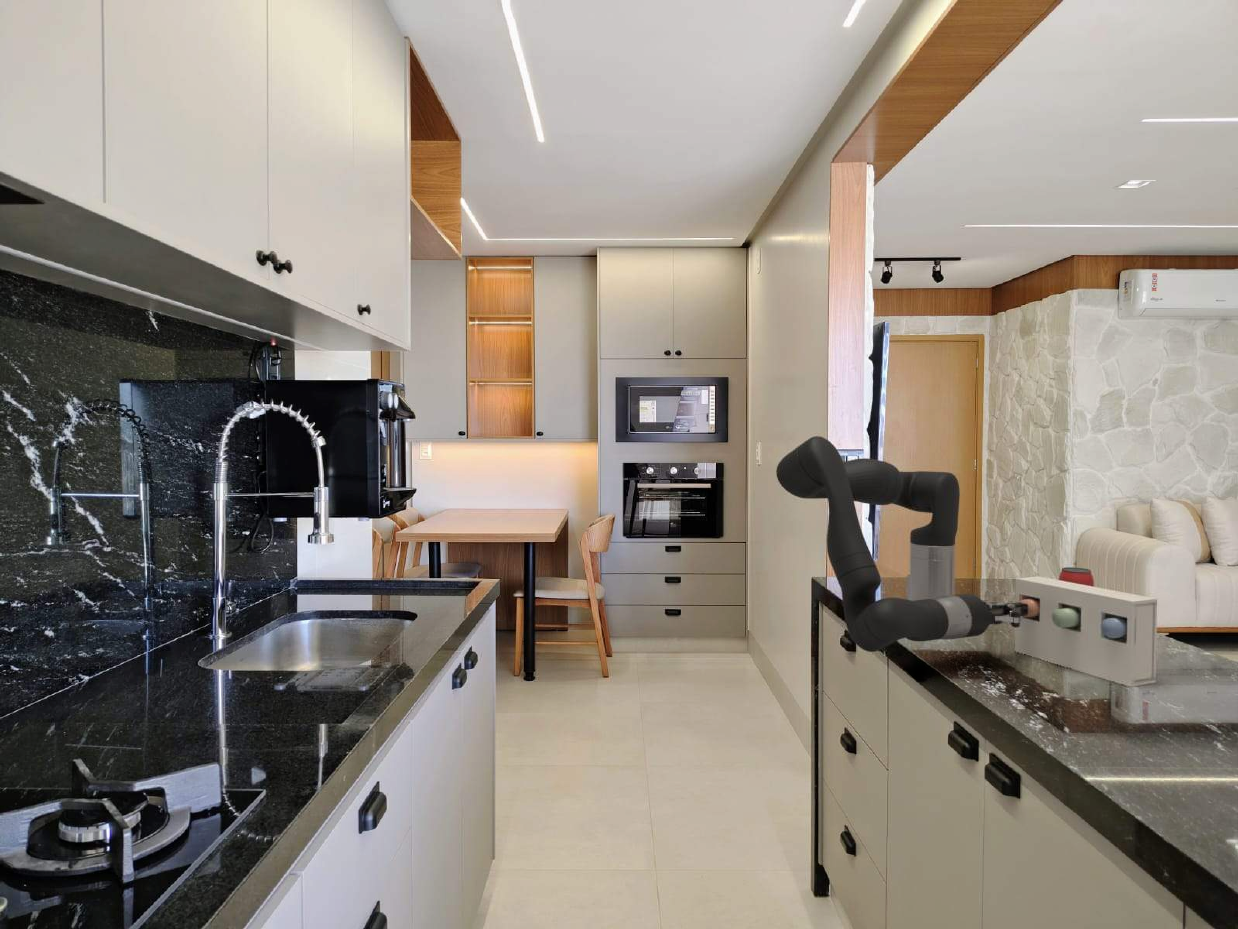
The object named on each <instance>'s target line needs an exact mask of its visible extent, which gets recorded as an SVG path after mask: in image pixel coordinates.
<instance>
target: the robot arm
mask: <svg viewBox="0 0 1238 929" xmlns="http://www.w3.org/2000/svg"><path fill="white" fill-rule="evenodd" d="M775 474H776V478H777V481H778V483H779V484H780V486H781V487H782V488H783V489H784V490H785V491H786V492H787V493H789V494H791V495H793V496H795V497H797V498H800V499H805V500H807V499H810V500H811V499H813V500H815V499H817V500H818V499H827V503H828V521H827V530H826V531H827V532H826V533H827V534H826V549H827V550H826V551H827V555H828V559H829V562H830V565H831V567H832V570H833V572H834V574H835V578H836V580H837V583H838V584H839V587H840V589H841V590H840V591H841V597H842V606H843V614H844V619H845V624H846V628H847V631H848V633H849V636H850V638H851V639H852V641H853V642H854V643H855V645H856V646H858V647H859V648H860V649H861V650H863V651H865V652H869V653H874V652H878V651H880V650H883V649H884V648H886V647H888V646H890V645H892V644H893V643H895V642H897V641H899V640H902V639H905V638H906V639H907V640H909V641H911V642H927V641H928V642H929V641H937V640H943V641H944V640H956V639H963V638H964V639H965V638H973V637H978V636H981V635H983V633H985V632H986V631H987V629H988V627H997V625H1001V624H1006V623H1008V625H1010V626H1011V627H1013V628H1014V629H1015V628H1017V627H1019V626H1020V621H1021V616H1027V615H1028V604H1025V603H1021V602H1017V603H1015V602H1010V603H1009V602H1008V603H1007V602H1005V601H1002V602H997V601H996V600H982V599H981V598H980V597H979V596H977V595H975V594H973V593H961V594H955V586H956V584H955V581H956V580H955V579H956V578H955V577H956V575H955V574H956V572H955V570H956V538H957V533H958V526H959V525H958V524H959V511H960V510H959V509H960V498H961V494H960V490H961V489H960V483H959V480H958V478H957V476H956V475H955V474H953V473H952V472H948V471H947V472H946V471H929V470H928V471H924V470H923V471H922V470H921V471H919V470H918V471H917V470H916V471H900V470H899V469H898V468H897V467H896V466H895V465H894V464H892V463H889V462H887V461H883V460H878V459H873V458H865V457H863V458H856V459H851V460H847V461H843V459H842V457H841V454H840V452H839V451H838V449H837V448H836V447H835V445H834V444H833V443H832V442H831V441H830V440H829V439H827V438H825V437H823V436H820V435H819V436H817V435H815V436H812V437H810V438H809V439H807V440H805V441H804V442H803V443H801V444H800V445H798V446H797V447H795V448H794V449H793V450H791V451H790V452H789V453H787V454H786V455H785V456H784V457H783V458H782V459H781V460H780V461H779V462H778V464H777V467H776V473H775ZM855 502H858V503H862V504H867V505H874V506H888V505H895V506H899V507H902V508H904V509H907V510H910V511H913V512H917V513H925V514H926V513H929V514H932V516H931V519H930V522H928V524H925V525H923V526H920V527H915V528H914V529H912V530H911V531H910V536H909V539H910V542H909V543H910V544H909V546H910V547H909V548H910V549H909V550H910V553H909V554H910V555H909V559H910V560H909V574H908V575H906V591H905V592H906V593H905V594H906V595H905V596H906V599H905V598H902V597H901V598H900V597H885V598H881V599H878V600H875V594H876V592H877V590H878V589H879V587H880V586H881V583H882V577H881V575H880V572H879V570H878V567H877V565H876V563H875V562H876V561H874V558H873V556H872V554H871V551H870V549H869V547H868V545H867V541H866V540H865V539H866V538H865V536H864V534H863V530H862V528H861V527H862V526H861V524H860V521H859V517H858V512H857V509H856V505H855Z"/></svg>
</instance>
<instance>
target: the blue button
mask: <svg viewBox="0 0 1238 929" xmlns="http://www.w3.org/2000/svg"><path fill="white" fill-rule="evenodd" d="M1101 630H1102V632H1103V634H1104V635H1105V636H1107V637H1108V638H1119V637H1126V636H1127V618H1126V617H1117V618H1109V619H1105V620H1103V621H1102V623H1101Z"/></svg>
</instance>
